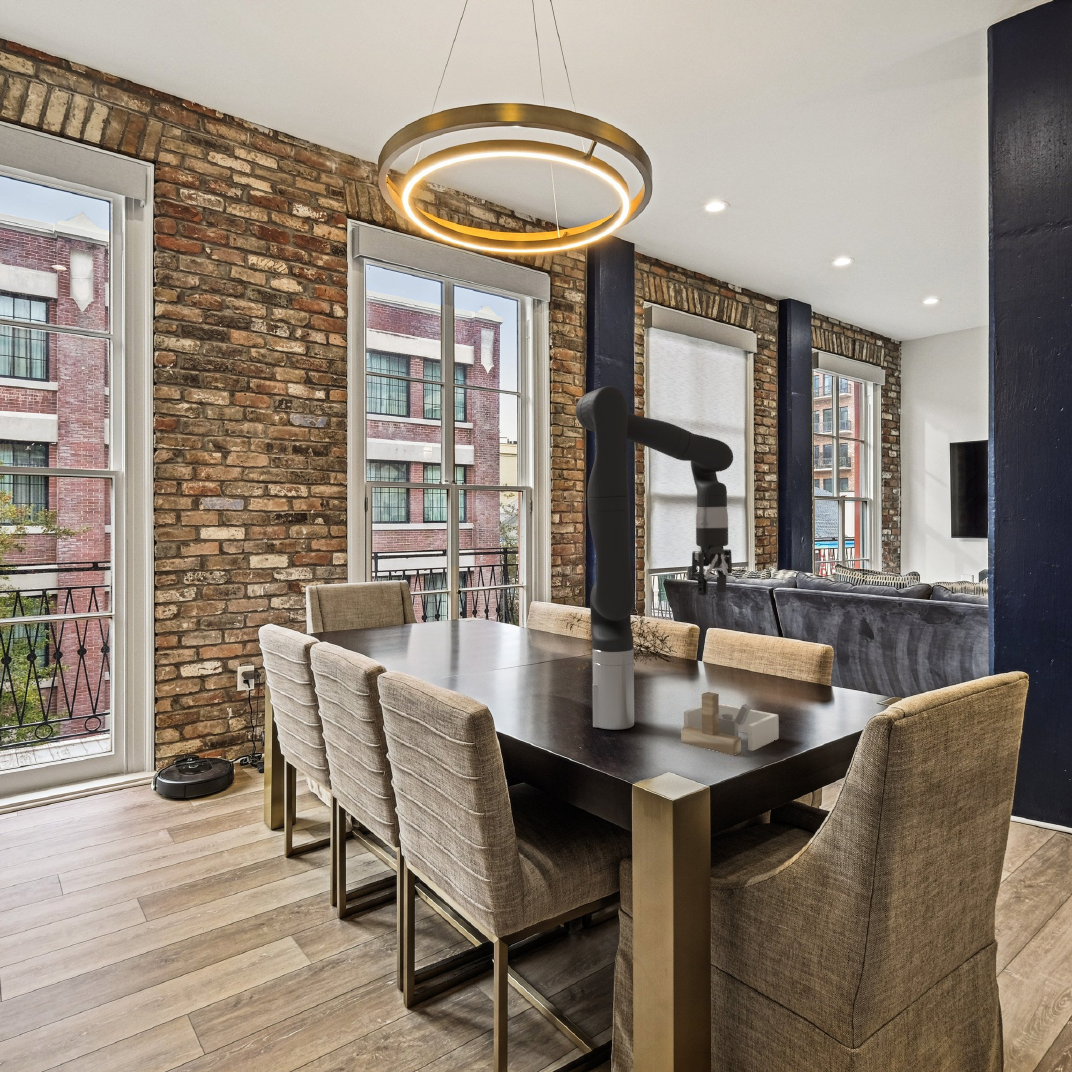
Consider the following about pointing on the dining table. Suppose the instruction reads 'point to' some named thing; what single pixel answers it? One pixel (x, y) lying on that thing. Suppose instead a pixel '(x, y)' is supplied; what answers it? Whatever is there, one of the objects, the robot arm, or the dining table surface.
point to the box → (756, 724)
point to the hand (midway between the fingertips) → (712, 593)
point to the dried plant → (635, 641)
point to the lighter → (733, 721)
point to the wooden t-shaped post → (711, 729)
